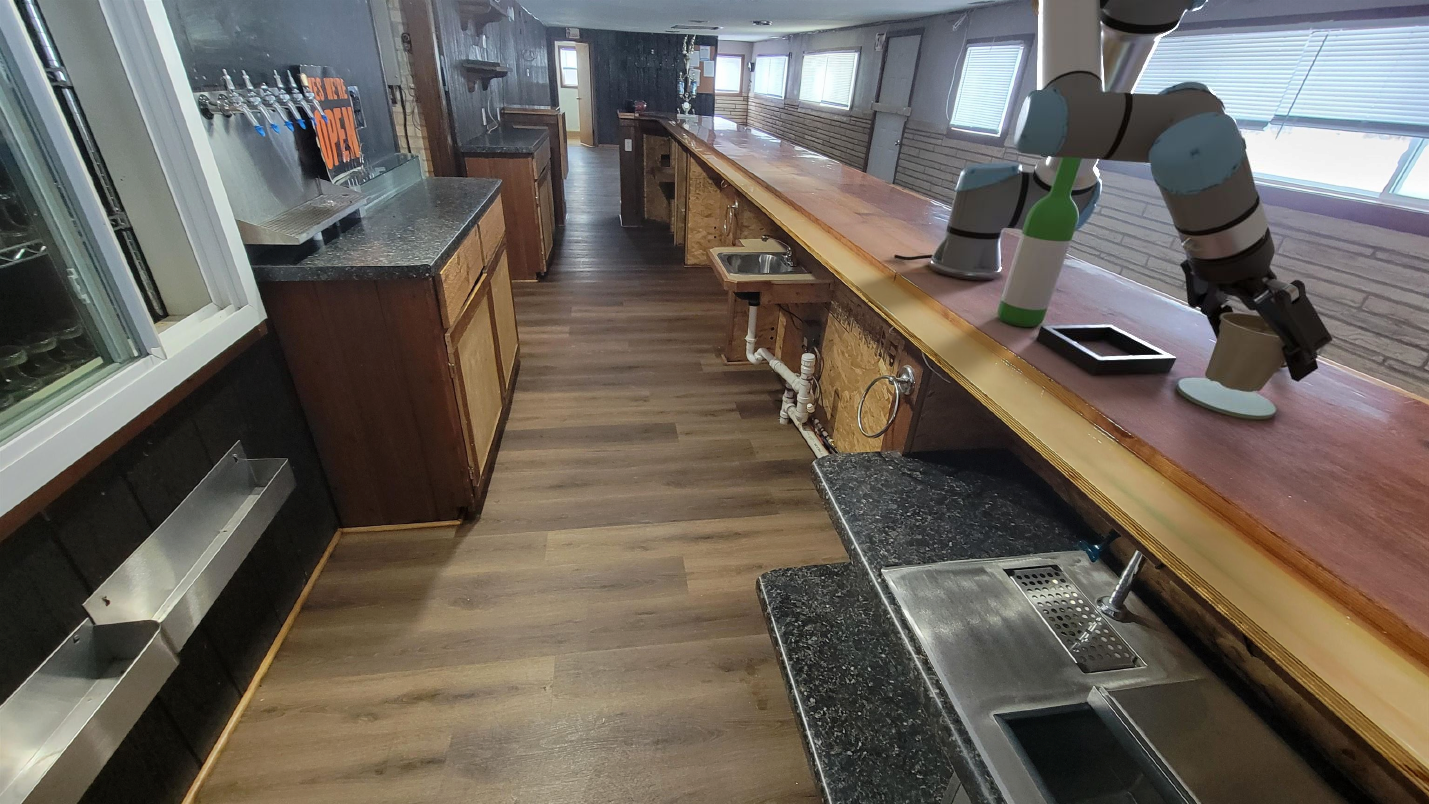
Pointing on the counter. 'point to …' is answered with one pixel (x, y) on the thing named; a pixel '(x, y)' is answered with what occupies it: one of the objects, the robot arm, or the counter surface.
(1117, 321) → the counter surface
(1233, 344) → the flower pot
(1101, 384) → the counter surface
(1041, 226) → the wine bottle
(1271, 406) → the coaster
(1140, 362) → the holder
